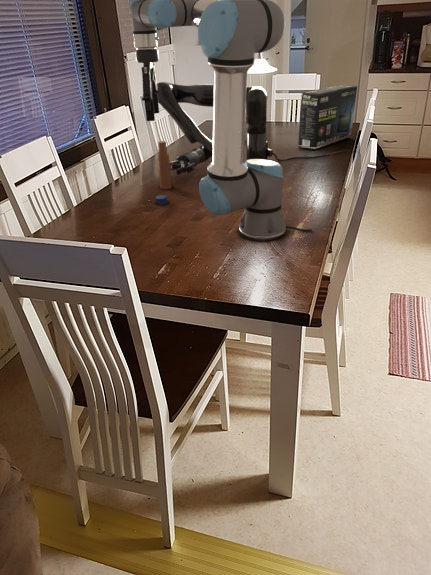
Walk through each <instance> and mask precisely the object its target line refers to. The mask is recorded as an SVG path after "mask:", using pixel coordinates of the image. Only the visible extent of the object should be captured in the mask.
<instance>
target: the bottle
mask: <svg viewBox="0 0 431 575" xmlns="http://www.w3.org/2000/svg"><path fill="white" fill-rule="evenodd" d="M157 146H158V147H157V148H158V149H157V154H156V159H157V169H158V178H159V188H160V189H161V190H170V189H172V187H173V185H172V175H171V171H170V162H171V161H169V160H170V153H169V151H168V149H167V141H166V140H159V141H157Z"/></svg>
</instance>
